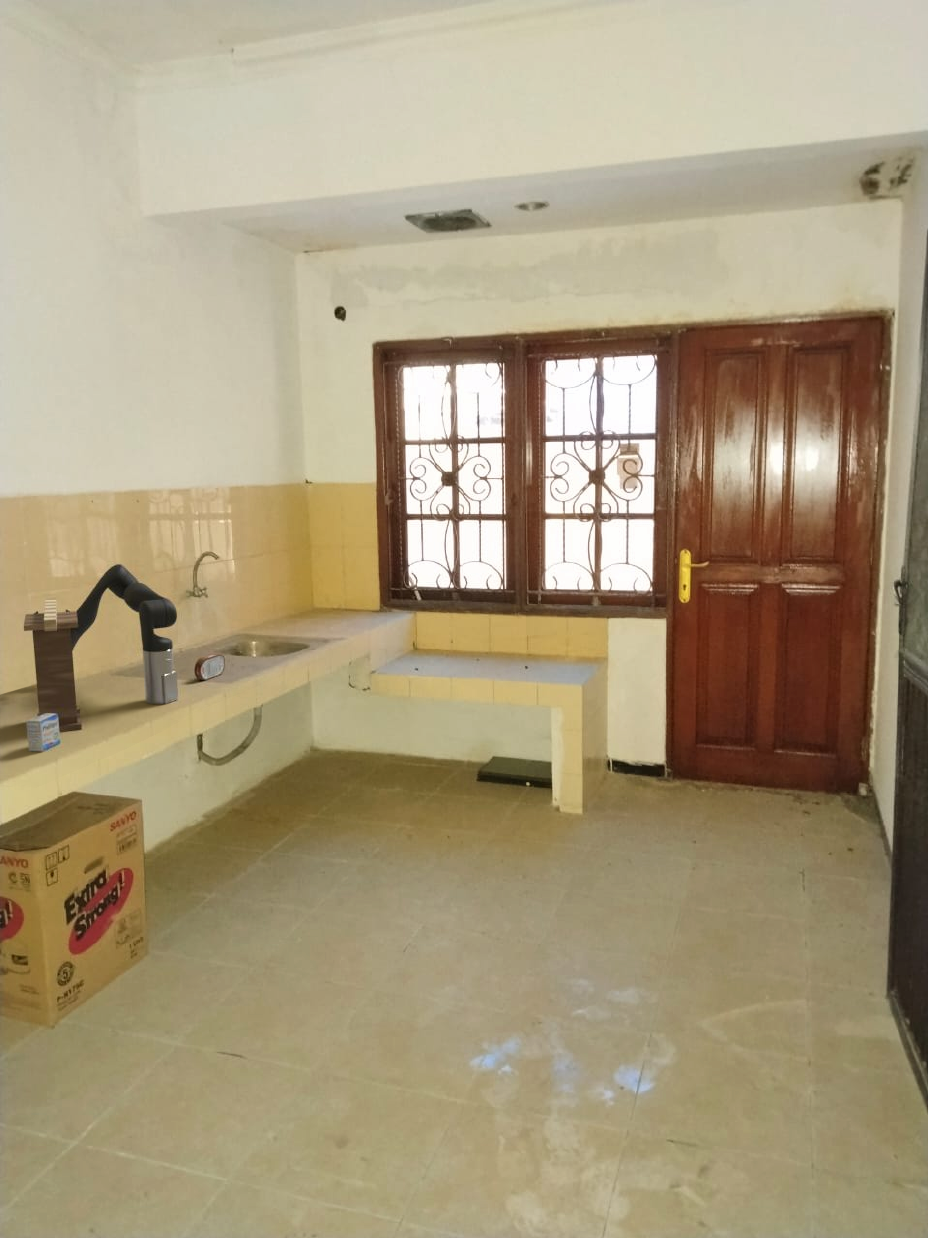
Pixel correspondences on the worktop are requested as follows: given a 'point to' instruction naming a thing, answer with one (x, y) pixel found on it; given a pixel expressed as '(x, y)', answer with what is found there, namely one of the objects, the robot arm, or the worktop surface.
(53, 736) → the medicine box
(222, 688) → the worktop surface
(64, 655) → the stand
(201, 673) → the tin
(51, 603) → the bar
